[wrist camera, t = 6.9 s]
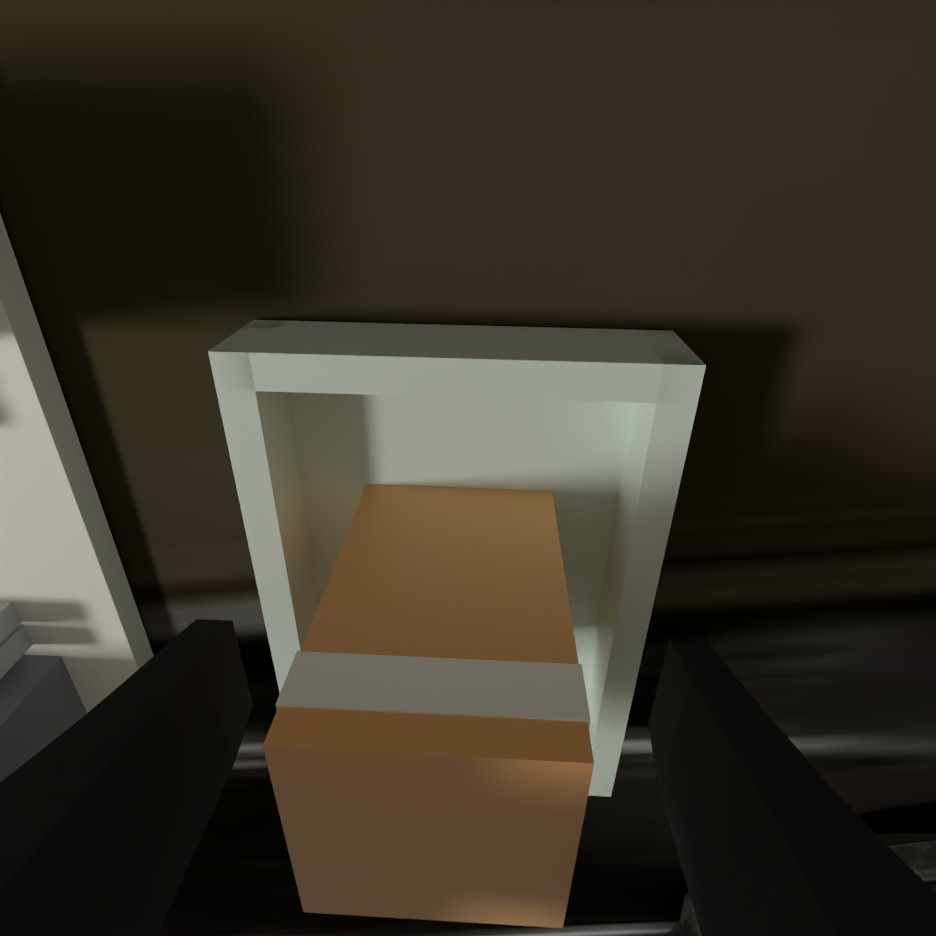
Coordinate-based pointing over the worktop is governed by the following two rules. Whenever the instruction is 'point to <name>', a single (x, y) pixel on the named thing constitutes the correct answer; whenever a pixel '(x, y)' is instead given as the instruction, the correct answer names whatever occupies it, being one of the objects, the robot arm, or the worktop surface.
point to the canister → (920, 851)
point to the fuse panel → (51, 551)
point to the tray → (466, 461)
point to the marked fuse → (437, 716)
